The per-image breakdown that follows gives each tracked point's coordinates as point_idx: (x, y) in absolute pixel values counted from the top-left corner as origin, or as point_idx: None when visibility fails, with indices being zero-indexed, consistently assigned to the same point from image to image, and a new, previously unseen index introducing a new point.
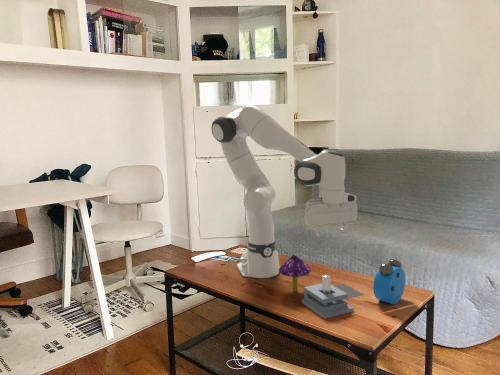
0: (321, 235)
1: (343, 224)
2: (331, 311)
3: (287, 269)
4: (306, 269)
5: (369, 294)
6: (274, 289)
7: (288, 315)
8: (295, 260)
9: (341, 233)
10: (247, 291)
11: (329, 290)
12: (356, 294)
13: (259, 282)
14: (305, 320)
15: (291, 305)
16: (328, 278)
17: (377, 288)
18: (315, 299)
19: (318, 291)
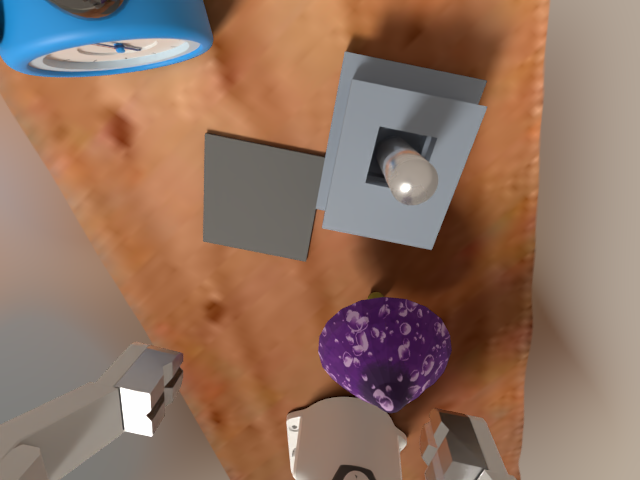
0: (450, 418)
1: (46, 463)
2: (436, 88)
3: (440, 356)
4: (371, 317)
5: (181, 129)
6: None
7: (533, 189)
8: (404, 377)
9: (173, 352)
10: (473, 373)
11: (404, 146)
12: (228, 154)
13: None
14: (529, 122)
15: (462, 236)
16: (422, 158)
17: (199, 8)
18: None
19: None
